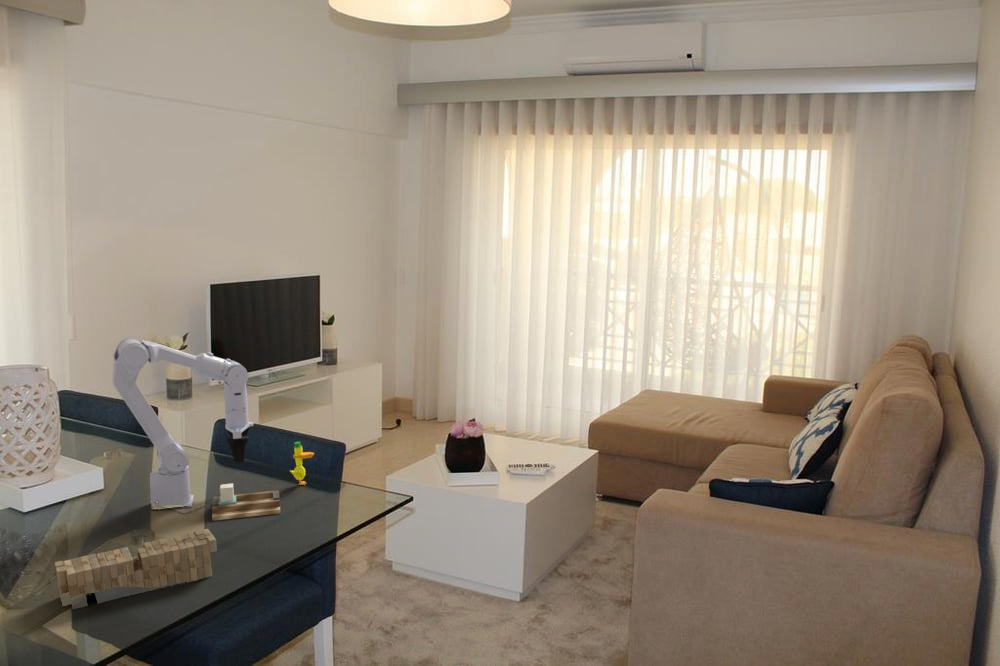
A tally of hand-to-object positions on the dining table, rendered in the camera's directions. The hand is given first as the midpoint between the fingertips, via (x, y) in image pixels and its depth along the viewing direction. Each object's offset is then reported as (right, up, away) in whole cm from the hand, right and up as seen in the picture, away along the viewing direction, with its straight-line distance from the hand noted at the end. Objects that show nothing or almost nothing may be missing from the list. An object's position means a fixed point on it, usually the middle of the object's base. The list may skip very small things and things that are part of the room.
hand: (239, 457), depth 222 cm
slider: (+1, -10, -12) cm, 16 cm away
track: (+5, -11, -10) cm, 16 cm away
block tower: (-4, -19, -52) cm, 55 cm away
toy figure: (+15, -8, +7) cm, 19 cm away
